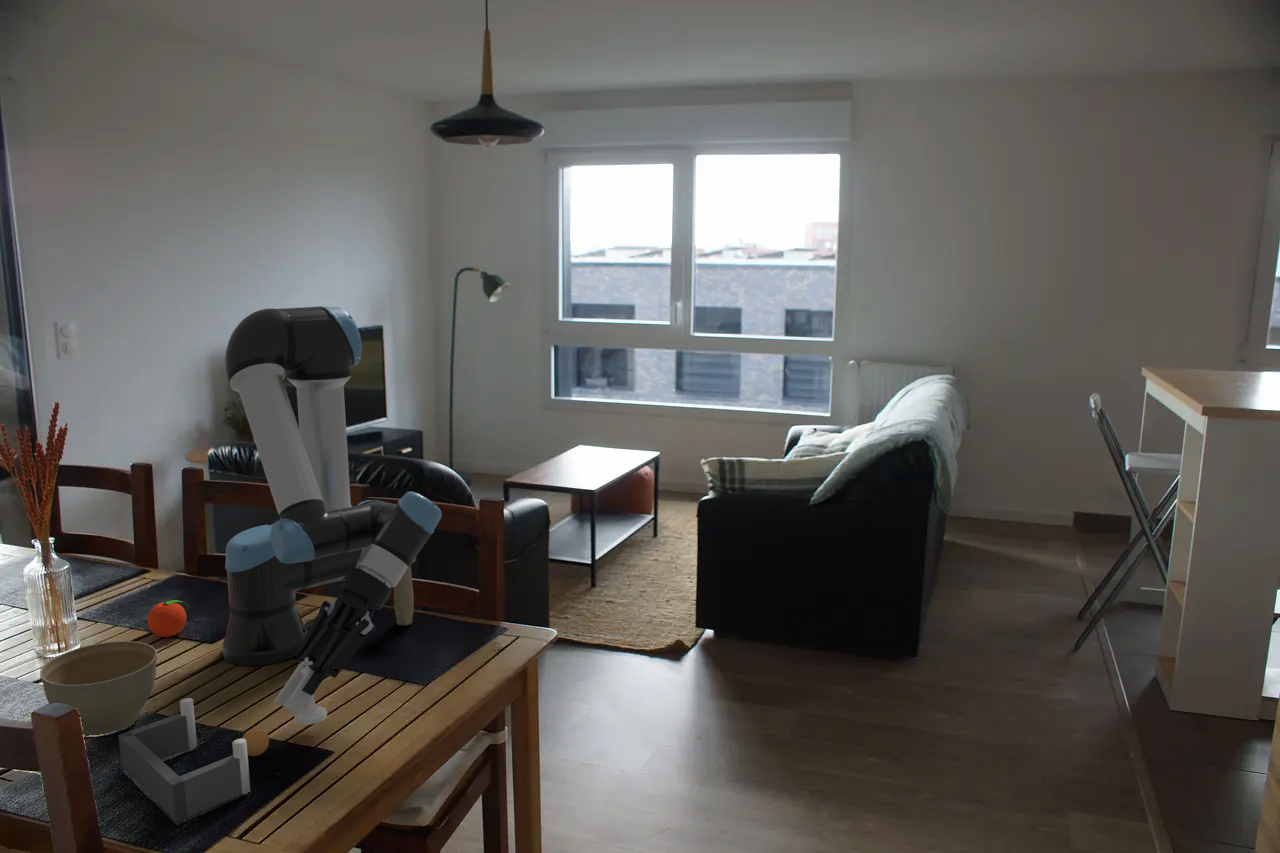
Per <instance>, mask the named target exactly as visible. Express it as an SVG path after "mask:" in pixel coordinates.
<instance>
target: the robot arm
mask: <svg viewBox="0 0 1280 853" xmlns="http://www.w3.org/2000/svg"><path fill="white" fill-rule="evenodd" d="M362 345H363V344H362V338H361V334H360V331H359V328H358V326H357V323H356V321H355V320H354V319H353V317H352V315H351V314H349V312H348V311H347V310H345V309H343V308H341V307H337V306H322V305H321V306H319V305H318V306H307V307H306V306H304V307H303V306H302V307H288V308H287V307H286V308H284V307H283V308H264V309H263V308H262V309H259V310H257V311H253V312H252V313H250V314H248V315H247V316H246V317H244V318H243V319H242V320H241V321H240V322H239V323H238V325H236V327H235V328H234V330H233V331H232V333H231V335H230V337H229V340H228V343H227V346H226V350H225V356H224V357H225V360H224V362H225V363H224V365H225V373H226V376H227V380H228V383H229V385H230V388H231V389H232V390H233V391H234V392H237V393H238V394H239V396H240V400H241V403H242V406H243V409H244V412H245V415H246V419H247V422H248V424H249V427H250V431H251V434H252V437H253V440H254V442H255V446H256V449H257V452H258V455H259V458H260V462H261V464H262V468H263V471H264V473H265V477H266V480H267V484H268V487H269V488H270V493H271V495H272V498H273V501H274V504H275V507H276V511H277V514H278V516H279V520H276V521H275V522H274V523H272V524H270V525H269V524H264V525H263V524H262V525H258V526H254V527H251V528H248V529H246V530H243V531H240V532H239V533H236V534H235V535H234V536H233V537H232V538H230V539H229V541H228V542H227V544H226V546H225V562H224V563H225V564H224V567H225V568H224V569H225V571H226V579H227V589H228V601H229V602H228V603H229V618H228V619H229V621H228V623H227V629H226V634H225V637H224V638H223V642H222V653H223V658H224V660H225V661H226V662H228V663H231V664H233V665H237V666H249V667H250V666H251V667H255V666H265V665H271V664H277V663H280V662H284V661H287V660H290V659H291V658H294V657H297V662H298V663H297V665H296V667H295V668H294V669H293V671H292V672H291V673H290V675H289V676H288V678H287V681H286V683H285V684H284V686H283V687H282V689H281V690H280V691H279V693H278V694H277V696H276V697H275V698H274V700H273V701H274V702H275V703H277V704H278V705H281V707H283V708H285V709H286V710H288V711H289V712H291V713H292V714H294V715H295V714H296V715H298V714H299V713H300V711H301V710H302V708H303V707H304V706H305V704H306V703H307V701H308V700H309V698H310V697H311V696H312V695H313V696H314V694H315V693H316V691H317V690H318V688H319V687H320V685H321V684H322V682H323V681H324V679H327V678H328V677H332V678H336V677H337V676H338V675H339V674H340V672H342V670H343V669H344V668H345V667H346V665H347V664H348V663H349V661H350V660H351V659H352V658H353V656H354V655H355V654H356V653H357V651H358V650H359V649H360V647H361V646H362V644H363V643H364V642H365V641H366V640H367V639H368V638H369V637H370V636H371V635H372V634H374V632H376V630H377V626H376V625H374V624H373V623H372V620H371V618H372V617H373V614H374V611H375V610H381V609H382V608H383V607H384V606H385V604H387V601H388V600H389V598H390V596H391V595H392V592H393V591H392V588H394V587H396V586H397V584H398V582H399V581H400V579H401V578H402V576H403V575H404V573H405V572H406V570H407V569H408V567H409V566H410V564H411V563H412V562H413V560H414V559H415V557H416V558H417V556H418V554H419V553H420V552H421V550H422V549H423V547H424V546H425V544H426V543H427V542H428V540H429V539H430V537H431V536H432V534H433V533H434V532H435V529H436V527H437V526H438V524H439V522H440V520H441V519H442V516H443V514H442V513H443V512H442V510H441V508H439V507H438V506H437V505H436V504H435V503H434V502H433V501H431V500H430V499H429V498H427V497H425V496H424V495H422V494H420V493H418V492H415V491H407V492H405V494H404V495H403V496H402V497H401V498H400V499H399V500H398V501H397V504H396V503H391V502H386V501H384V500H379V499H373V500H372V499H371V500H370V499H368V500H363V501H361V502H359V503H357V505H355V506H352V504H351V489H350V488H351V487H350V472H349V470H350V469H349V455H348V452H349V451H348V438H347V436H348V435H347V423H346V422H347V420H346V407H345V406H346V405H345V403H346V402H345V389H344V388H345V385H346V383H347V382H348V381H349V380H350V379H351V378H352V372H351V371H352V370H351V369H352V367H355V366H357V365H358V364H359V363H360V361H361V360H362V359H361V356H362V354H363V346H362ZM285 378H287V381H288V382H289V383H290V384H292V385H293V386H294V387H295V388H296V399H297V400H296V401H297V414H298V416H297V417H298V422H297V419H296V415H295V413H294V410H293V406H292V405H291V400H290V399H289V395H288V392H287V389H286V386H285V382H284V380H285ZM413 563H414V562H413ZM413 563H412V564H413ZM412 564H411V565H412ZM334 582H335V583H336V582H342V584H341V587H342V589H343V593H342V594H340V596H339V597H338V598H337V599H336V600H335V601H334V602H329V601H327V600H324V601H323V602H322V603H321V604H320V608H319V611H318V613H317V615H316V617H315V618H314V620H313V622H312V623H311V626H310V627H309V629H308V630H307V628H306V626H305V624H304V622H303V620H302V616H301V615H300V612H299V610H298V608H297V601H296V592H297V591H301V590H305V589H310V588H314V587H319V586H321V585H327V584H330V583H334ZM305 658H308V661H313V664H312V665H309V667H310V669H311V670H310V669H308V671H307V672H306V674H305V675H304V677H303V676H302V674H301V670H302V669H303V668H305V665H301V662H302V661H305ZM312 670H313V671H314V672H313V671H312Z"/></svg>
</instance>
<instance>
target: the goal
mask: <svg viewBox="0 0 1280 853" xmlns="http://www.w3.org/2000/svg"><path fill="white" fill-rule="evenodd" d="M179 707H180V713H177V714H174V715H171V716H168V717H166V718H163V719H159V720H157V721H155V722H152V723H148V724H146V725H143V726H140V727H137V728H134V729H131V730H129V731H126V732H123V733H120V734H118V744H119V745H118V746H119V753H120V762H121V768H122V767H123V768H124V769H125V770H126V771H127V772H128V773H129V774H130V775H131V776H132V777H133V778H134V779H135V780H136V781H137V782H138V784H140V785H141V787H143V789H145V790H146V791H147V792H148V793H149V794H150V795H151V796H152V797H153V798H154V799H155V800H156V801H157V802H158V803H159V804H160V805H161V806H162V807H163V809H164V810H165V811H166V812H167V813H168V814H169V815H170V816H171V818H172V819H173V820H174V821H175V822H177V821H180V820H182V819H185V818H187V817H190V816H192V815H195V814H197V813H198V812H199V811H203V810H205V809H206V808H210V807H211V806H215V805H216V804H219V803H222V802H224V801H227V800H230V799H233V798H234V797H238V796H240V795H243V794H247V793H248V792H250V793H251V785H250V784H251V783H250V770H249V755H247V743H246V739H242V738H237V739H235V740H233V741H232V743H231V744H232V755H230V756H228V757H225V758H222V759H220V760H217V761H215V762H211V763H209V764H207V765H205V766H202V767H199V768H197V769H194V770H192V771H190V772H187V773H185V774H182V775H179V774H177V773H176V771H174V770H173V769H171V767H170V766H168V765H167V764H166V763H165V762H163V761H162V760H161V759H162V758H164V757H168V756H172V755H175V754H177V753H180V752H183V751H186V750H188V749H193V748H195V747H196V746H197V747H198V742H197V740H198V739H197V730H196V721H195V720H196V718H195V707H194V698H192V697H191V698H190V697H188V698H187V697H186V698H183V699H180V701H179Z"/></svg>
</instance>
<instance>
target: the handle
mask: <svg viewBox="0 0 1280 853" xmlns="http://www.w3.org/2000/svg"><path fill="white" fill-rule="evenodd" d="M416 561H417V556H416V557H415V559H414V560H413V562H412V563H411V564H410V566H409V567H408V569H407V570H406V572H405V573H404V575H403V576H402V578H401V579H400V581H399V582H398V584H397V586H396V587H393V605H394V608H393V609H394V613H395V617H396V624H397V625H398V626H404V627H405V625H406V626H408V625H409V626H410V625H412V624H413V623H412V622H413V615H414V604H415V603H414V602H415V601H414V600H415V599H414V590H413V579H412V578H413V577H412V568H411V566H412V564H413V563H414V562H416Z"/></svg>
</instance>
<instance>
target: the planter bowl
mask: <svg viewBox="0 0 1280 853" xmlns="http://www.w3.org/2000/svg"><path fill="white" fill-rule="evenodd" d="M157 661H158V653H157V650H156V648H155V647H154V646H152V645H151V644H148V643H145V642H140V641H139V642H138V641H133V640H115V641H105V642H101V643H94V644H90V645H89V644H88V645H85V646H82V647H77V648H75V649H72V650H69V651H67V652H64V653H61V654H59V655H58V656H56V657H54V658H52V659H50V660H49V661H48V662H46V663H45V664H44V665H43V666H42V668H41V669H40V672H39V676H40V680H41V683H42V685H43V691H44V695H45V698H46V700H47V702H48V705H50V704H52V703H65V704H68V705H70V706H73V707H76V708H77V709H78V711H79V713H80V717H81V722H82V727H83V730H84V735H85V737H84V738H86V736H89V735H100V734H106V733H110V732H113V731H117V730H120V729H123V728H125V727H127V726H129V725H130V724H132V723H133V722H135V721H136V720H137V719H138V720H139V718H140V712H141V710H142V709H143V708H144V706H145V705H146V703H147V701H148V699H149V697H150V696H151V694H152V691H153V688H154V685H155V680H156V676H157V675H156V674H157ZM138 717H139V718H138ZM138 720H137V721H138ZM137 721H136V722H137Z"/></svg>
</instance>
